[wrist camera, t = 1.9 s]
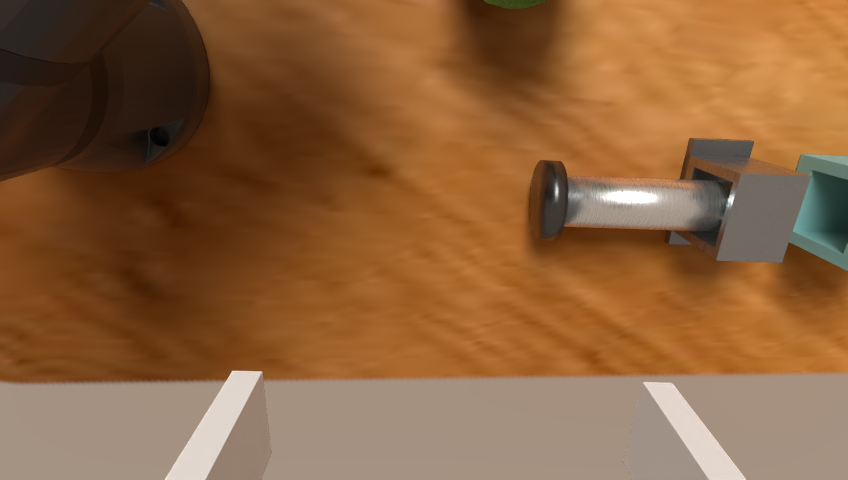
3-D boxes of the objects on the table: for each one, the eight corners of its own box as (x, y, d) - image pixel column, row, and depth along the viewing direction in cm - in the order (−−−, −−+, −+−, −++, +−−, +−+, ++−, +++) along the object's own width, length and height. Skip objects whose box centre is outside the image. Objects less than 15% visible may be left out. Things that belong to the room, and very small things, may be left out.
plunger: (526, 224, 36) (543, 252, 31) (534, 153, 34) (554, 169, 29) (735, 231, 36) (787, 260, 31) (756, 161, 34) (815, 179, 29)
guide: (665, 241, 38) (711, 276, 32) (689, 138, 35) (746, 154, 29) (719, 243, 38) (776, 278, 32) (748, 140, 35) (818, 157, 29)
